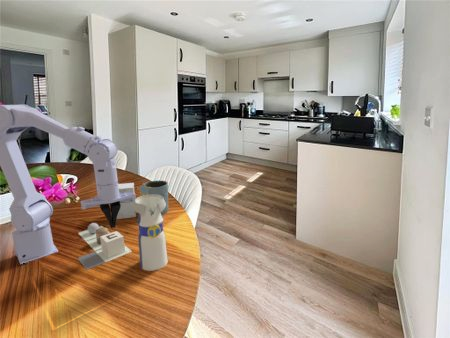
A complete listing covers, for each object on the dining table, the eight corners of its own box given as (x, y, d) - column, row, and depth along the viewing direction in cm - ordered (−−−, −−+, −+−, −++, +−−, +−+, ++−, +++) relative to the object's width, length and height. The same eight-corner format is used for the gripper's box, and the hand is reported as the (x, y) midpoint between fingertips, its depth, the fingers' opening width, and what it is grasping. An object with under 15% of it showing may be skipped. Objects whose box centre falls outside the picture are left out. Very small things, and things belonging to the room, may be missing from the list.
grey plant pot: (157, 218, 106) (155, 189, 103) (139, 212, 111) (136, 185, 108) (174, 209, 115) (173, 182, 112) (157, 204, 120) (155, 178, 117)
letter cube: (108, 258, 79) (106, 242, 77) (102, 251, 82) (100, 236, 81) (125, 251, 82) (123, 236, 81) (118, 245, 86) (116, 230, 84)
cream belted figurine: (174, 266, 75) (168, 179, 69) (143, 276, 71) (134, 185, 65) (165, 252, 82) (159, 172, 76) (136, 260, 78) (127, 177, 72)
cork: (99, 245, 86) (97, 234, 85) (95, 241, 88) (93, 230, 87) (110, 241, 88) (109, 230, 87) (106, 237, 91) (105, 226, 90)
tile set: (105, 263, 77) (105, 262, 77) (78, 233, 94) (77, 232, 94) (132, 252, 82) (132, 251, 82) (101, 226, 100) (101, 225, 100)
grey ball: (90, 236, 92) (88, 226, 91) (86, 232, 94) (85, 223, 93) (101, 232, 94) (99, 223, 93) (97, 229, 96) (96, 220, 96)
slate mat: (86, 271, 73) (86, 269, 73) (77, 259, 79) (77, 258, 79) (105, 263, 77) (105, 262, 77) (95, 252, 82) (95, 251, 82)
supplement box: (116, 220, 105) (112, 189, 102) (118, 213, 112) (114, 183, 108) (136, 218, 107) (133, 187, 103) (136, 210, 114) (133, 182, 110)
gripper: (130, 175, 84) (134, 216, 87) (77, 183, 77) (84, 227, 80) (135, 181, 78) (139, 224, 81) (78, 190, 71) (86, 237, 74)
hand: (112, 226), depth 81 cm, fingers closed
